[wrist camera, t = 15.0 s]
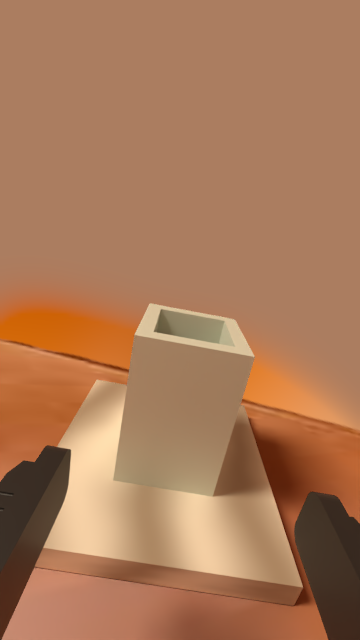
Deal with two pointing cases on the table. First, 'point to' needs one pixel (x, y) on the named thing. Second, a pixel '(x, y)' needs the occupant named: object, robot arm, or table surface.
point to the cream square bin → (181, 399)
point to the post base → (169, 517)
